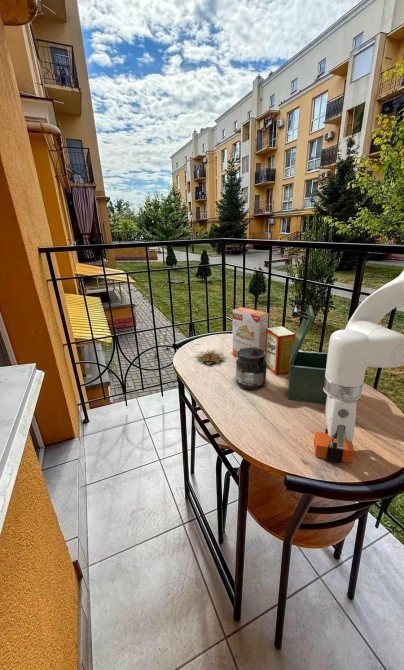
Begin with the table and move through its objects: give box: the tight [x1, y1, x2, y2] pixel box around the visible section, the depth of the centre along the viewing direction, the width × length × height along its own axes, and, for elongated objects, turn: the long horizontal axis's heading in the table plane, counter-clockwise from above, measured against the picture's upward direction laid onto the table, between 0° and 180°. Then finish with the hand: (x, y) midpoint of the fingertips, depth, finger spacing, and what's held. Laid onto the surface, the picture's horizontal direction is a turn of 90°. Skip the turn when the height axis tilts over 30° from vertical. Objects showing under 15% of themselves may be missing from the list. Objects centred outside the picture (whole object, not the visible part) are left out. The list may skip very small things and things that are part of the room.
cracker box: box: [232, 306, 269, 357], centre depth 115 cm, size 14×6×21 cm, turn 42°
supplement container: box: [235, 348, 267, 391], centre depth 97 cm, size 10×10×12 cm
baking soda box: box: [265, 325, 296, 377], centre depth 106 cm, size 10×6×16 cm
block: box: [313, 431, 355, 464], centre depth 67 cm, size 8×5×3 cm, turn 73°
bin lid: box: [289, 304, 315, 365], centre depth 87 cm, size 16×13×5 cm
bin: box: [287, 350, 328, 405], centre depth 90 cm, size 16×13×12 cm
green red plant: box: [196, 349, 225, 366], centre depth 118 cm, size 12×12×5 cm
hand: (332, 450), depth 68 cm, fingers closed on block, 5 cm apart
